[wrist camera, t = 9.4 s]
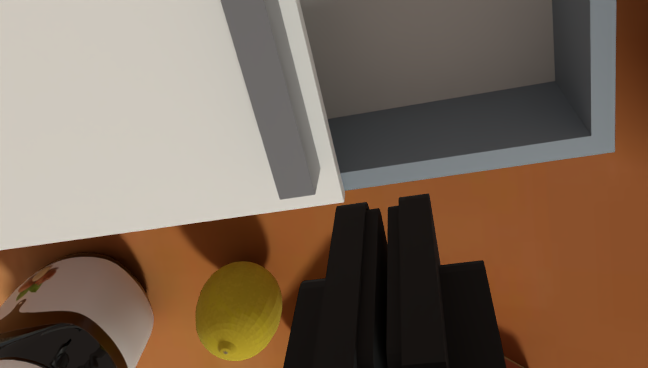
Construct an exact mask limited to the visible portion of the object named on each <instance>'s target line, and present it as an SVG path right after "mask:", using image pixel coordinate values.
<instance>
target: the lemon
mask: <svg viewBox="0 0 648 368" xmlns="http://www.w3.org/2000/svg"><path fill="white" fill-rule="evenodd" d="M281 313H282V295H281V290H280V288H279V285H278V283H277V281H276V279H275V278H274V277H273V275H272V274H271V273H270V272H269V271H268V270H266V269H265V268H264V267H262V266H260V265H258V264H256V263H252V262H246V261H240V262H233V263H230V264H227V265H225V266H223V267H221V268H220V269H219V270H217V271H216V272H214V273H213V274H212V275H211V277H210V278H209V279H208V281H207V282H206V283H205V285H204V286H203V288H202V290H201V293H200V296H199V299H198V302H197V306H196V330H197V333H198V336H199V339H200V341H201V342H202V344H203V345H204V347H205V348H206V349H207V350H208V351H209V352H211V353H212V354H213V355H215V356H217V357H219V358H221V359H224V360H230V361H240V360H245V359H248V358H251V357H253V356H255V355H256V354H258V353H259V352H260V351H262V350H263V349H264V348H265V347H266V346H267V344H268V343H269V342H270V340H271V338H272V337H273V335H274V334H275V332H276V330H277V328H278V325H279V322H280V317H281Z"/></svg>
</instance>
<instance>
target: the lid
mask: <svg viewBox="0 0 648 368" xmlns="http://www.w3.org/2000/svg"><path fill="white" fill-rule="evenodd" d="M344 198H345V191H344V187H343V183H342V179H341V175H340V170H339V166H338V162H337V158H336V153H335V149H334V145H333V141H332V136H331V132H330V128H329V124H328V119H327V115H326V111H325V107H324V103H323V98H322V94H321V90H320V86H319V81H318V77H317V73H316V69H315V64H314V60H313V56H312V52H311V48H310V43H309V39H308V35H307V31H306V26H305V22H304V18H303V14H302V9H301V5H300V1H299V0H0V250H6V249H13V248H20V247H27V246H35V245H42V244H49V243H56V242H63V241H70V240H77V239H85V238H92V237H99V236H106V235H113V234H120V233H127V232H135V231H142V230H149V229H156V228H163V227H170V226H177V225H185V224H192V223H199V222H206V221H213V220H220V219H227V218H235V217H242V216H249V215H256V214H263V213H270V212H277V211H285V210H292V209H299V208H306V207H313V206H320V205H328V204H335V203H342V202H344Z"/></svg>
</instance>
